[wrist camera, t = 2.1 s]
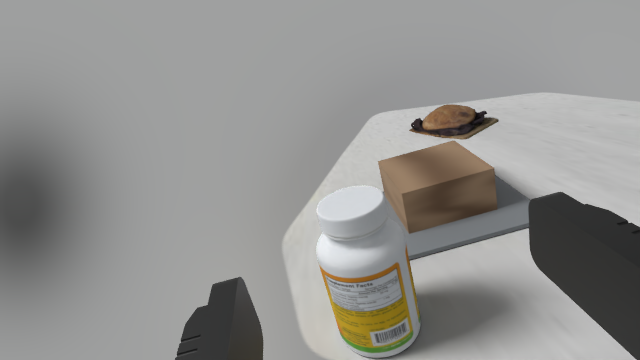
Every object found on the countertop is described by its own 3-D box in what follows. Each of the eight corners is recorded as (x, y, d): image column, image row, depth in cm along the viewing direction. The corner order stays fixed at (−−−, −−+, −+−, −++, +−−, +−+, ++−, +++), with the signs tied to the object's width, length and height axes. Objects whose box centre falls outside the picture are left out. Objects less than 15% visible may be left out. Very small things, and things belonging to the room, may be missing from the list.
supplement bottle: (364, 291, 30) (335, 177, 26) (434, 309, 27) (412, 181, 23) (325, 345, 26) (285, 220, 23) (400, 373, 23) (368, 232, 19)
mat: (481, 168, 43) (480, 164, 43) (552, 220, 32) (552, 216, 32) (356, 202, 43) (355, 199, 43) (385, 266, 32) (384, 262, 32)
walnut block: (458, 175, 42) (453, 140, 41) (497, 209, 35) (494, 168, 33) (385, 195, 42) (378, 161, 40) (409, 233, 35) (401, 193, 33)
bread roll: (503, 123, 55) (501, 97, 53) (462, 146, 51) (459, 118, 50) (442, 116, 63) (440, 93, 62) (404, 134, 60) (400, 111, 58)
